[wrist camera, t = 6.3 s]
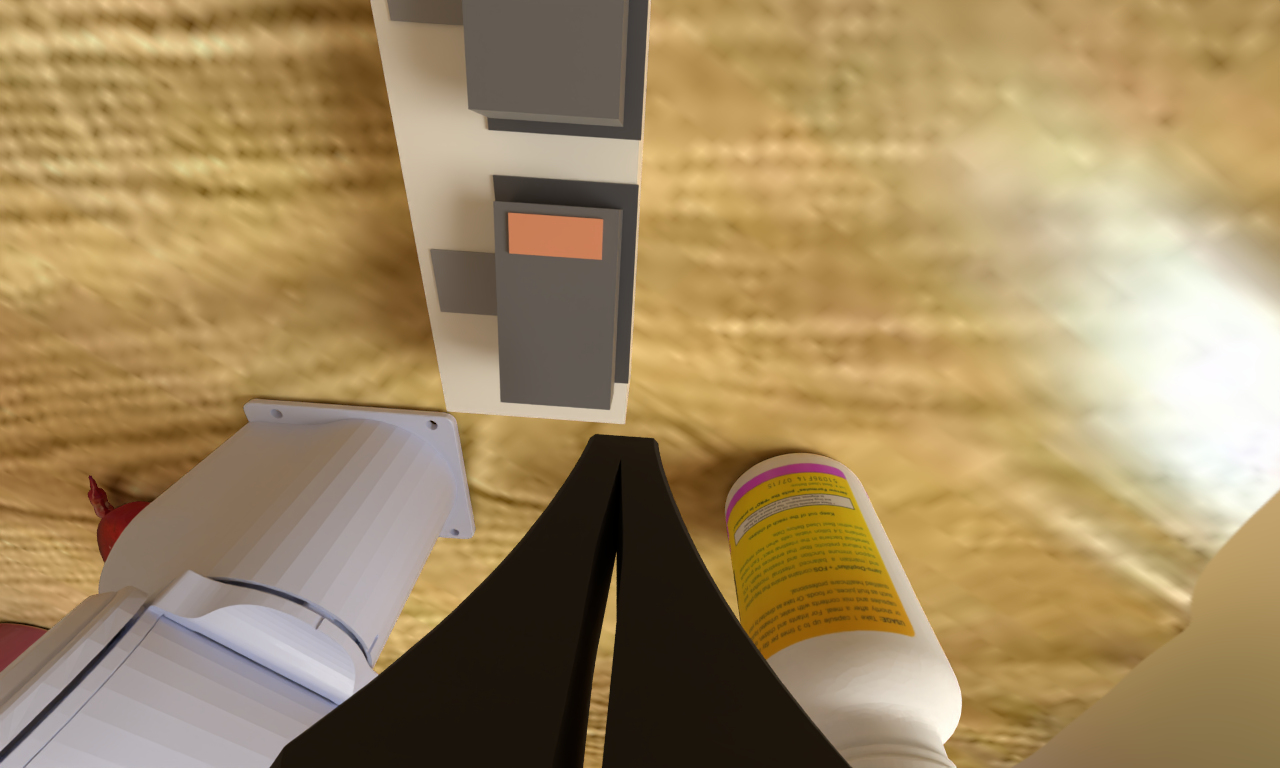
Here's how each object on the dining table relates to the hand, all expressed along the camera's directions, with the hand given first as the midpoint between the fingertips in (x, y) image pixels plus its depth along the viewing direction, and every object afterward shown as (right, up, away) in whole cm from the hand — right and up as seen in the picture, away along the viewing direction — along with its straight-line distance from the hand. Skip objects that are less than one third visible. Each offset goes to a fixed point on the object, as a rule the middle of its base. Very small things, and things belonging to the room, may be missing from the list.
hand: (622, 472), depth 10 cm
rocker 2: (-2, +4, +3) cm, 6 cm away
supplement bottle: (+8, -4, +14) cm, 16 cm away
